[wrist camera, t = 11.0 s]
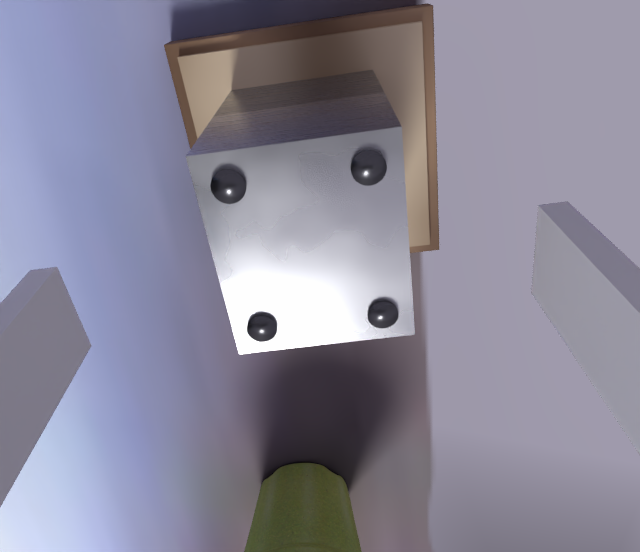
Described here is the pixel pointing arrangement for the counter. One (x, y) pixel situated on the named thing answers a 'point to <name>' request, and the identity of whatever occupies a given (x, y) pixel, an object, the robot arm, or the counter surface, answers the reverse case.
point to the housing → (307, 212)
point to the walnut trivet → (327, 60)
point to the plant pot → (303, 512)
